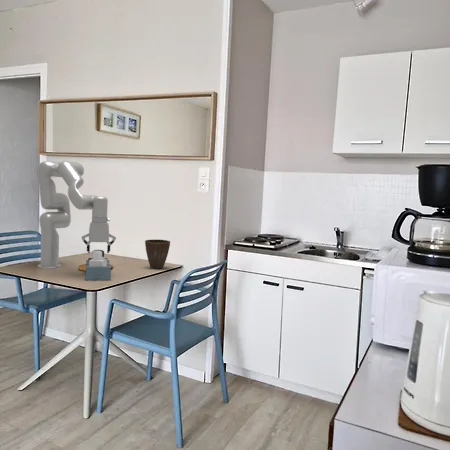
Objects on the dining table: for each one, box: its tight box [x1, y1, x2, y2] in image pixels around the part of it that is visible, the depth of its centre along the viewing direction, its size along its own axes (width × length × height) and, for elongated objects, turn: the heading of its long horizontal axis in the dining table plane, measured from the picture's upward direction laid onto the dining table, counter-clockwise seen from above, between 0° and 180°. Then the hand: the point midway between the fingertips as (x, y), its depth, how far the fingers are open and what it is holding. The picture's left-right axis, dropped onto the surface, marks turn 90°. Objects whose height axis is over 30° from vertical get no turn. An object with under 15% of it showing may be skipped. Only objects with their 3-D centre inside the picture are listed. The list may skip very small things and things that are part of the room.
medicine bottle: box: [89, 249, 108, 266], centre depth 223 cm, size 7×7×12 cm
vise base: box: [85, 265, 112, 281], centre depth 225 cm, size 25×12×6 cm, turn 18°
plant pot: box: [144, 239, 171, 270], centre depth 253 cm, size 15×15×16 cm
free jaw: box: [85, 257, 110, 267], centre depth 232 cm, size 3×12×6 cm, turn 108°
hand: (98, 252), depth 223 cm, fingers open, 9 cm apart
